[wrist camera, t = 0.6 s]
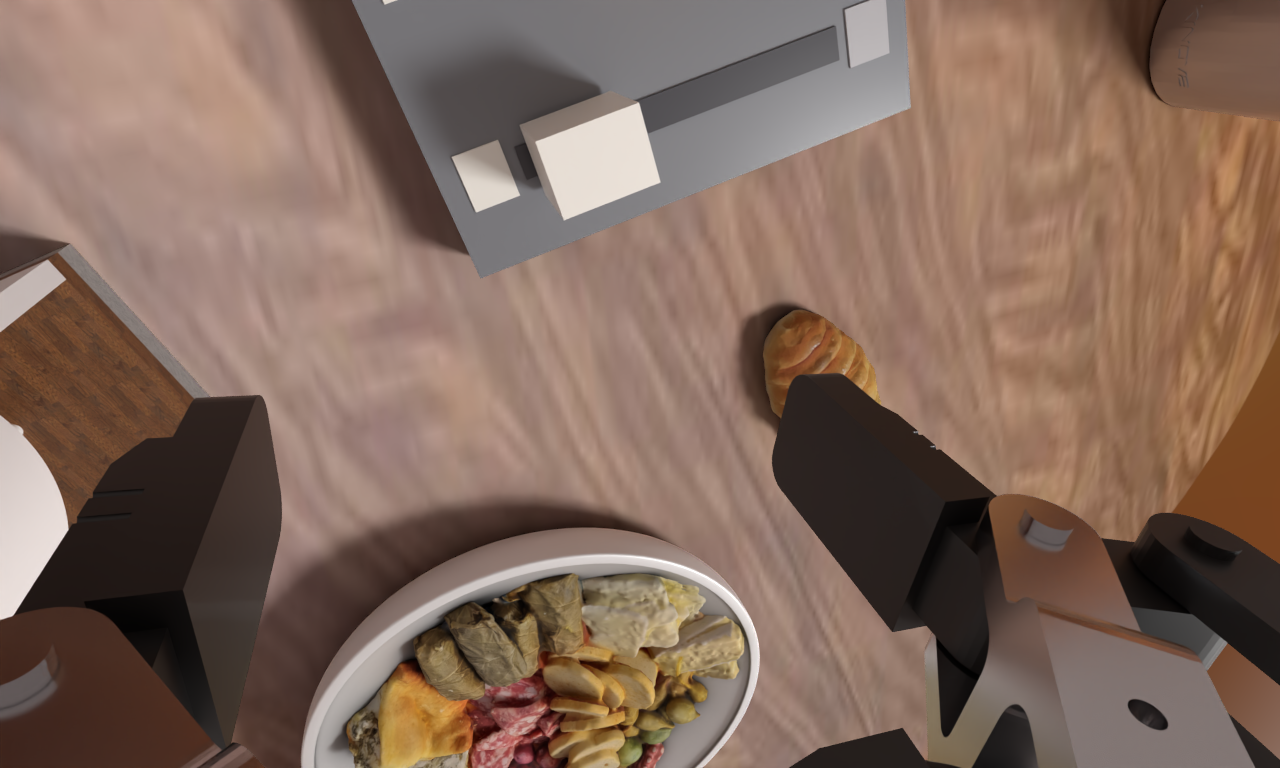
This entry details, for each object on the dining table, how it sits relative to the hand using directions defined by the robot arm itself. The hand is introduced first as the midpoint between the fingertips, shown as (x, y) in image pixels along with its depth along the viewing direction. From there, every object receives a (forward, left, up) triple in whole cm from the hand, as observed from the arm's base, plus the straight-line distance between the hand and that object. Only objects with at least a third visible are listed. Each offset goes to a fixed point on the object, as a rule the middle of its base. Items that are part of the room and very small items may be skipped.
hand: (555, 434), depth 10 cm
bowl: (+9, +35, -24) cm, 43 cm away
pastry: (-15, +20, -24) cm, 34 cm away
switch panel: (-10, -3, -23) cm, 26 cm away
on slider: (-5, +1, -20) cm, 21 cm away
